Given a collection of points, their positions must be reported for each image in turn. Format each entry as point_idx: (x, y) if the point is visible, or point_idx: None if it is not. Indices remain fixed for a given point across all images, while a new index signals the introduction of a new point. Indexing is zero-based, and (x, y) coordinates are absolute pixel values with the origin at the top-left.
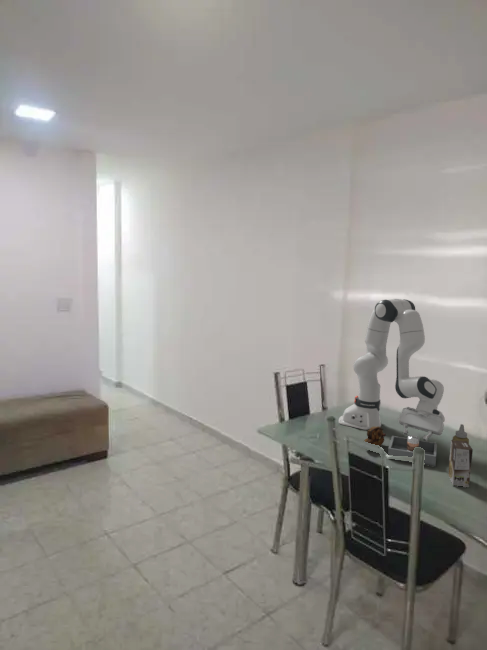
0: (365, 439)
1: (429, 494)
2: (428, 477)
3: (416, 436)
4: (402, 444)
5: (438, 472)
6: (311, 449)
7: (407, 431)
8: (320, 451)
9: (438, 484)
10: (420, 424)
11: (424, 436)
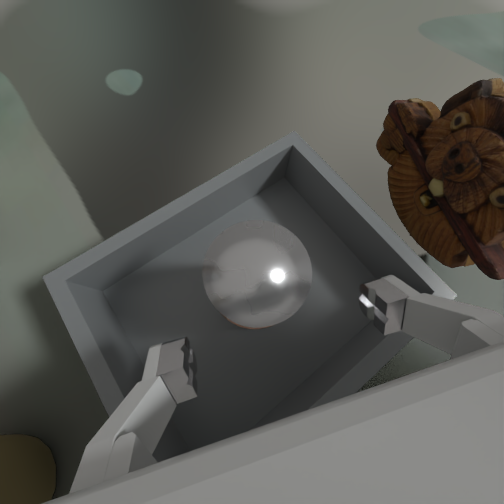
0: (432, 104)
1: (4, 91)
2: (65, 180)
3: (255, 313)
4: (364, 332)
5: (54, 256)
6: (456, 26)
7: (380, 310)
8: (433, 36)
9: (6, 166)
10: (315, 475)
11: (175, 357)
